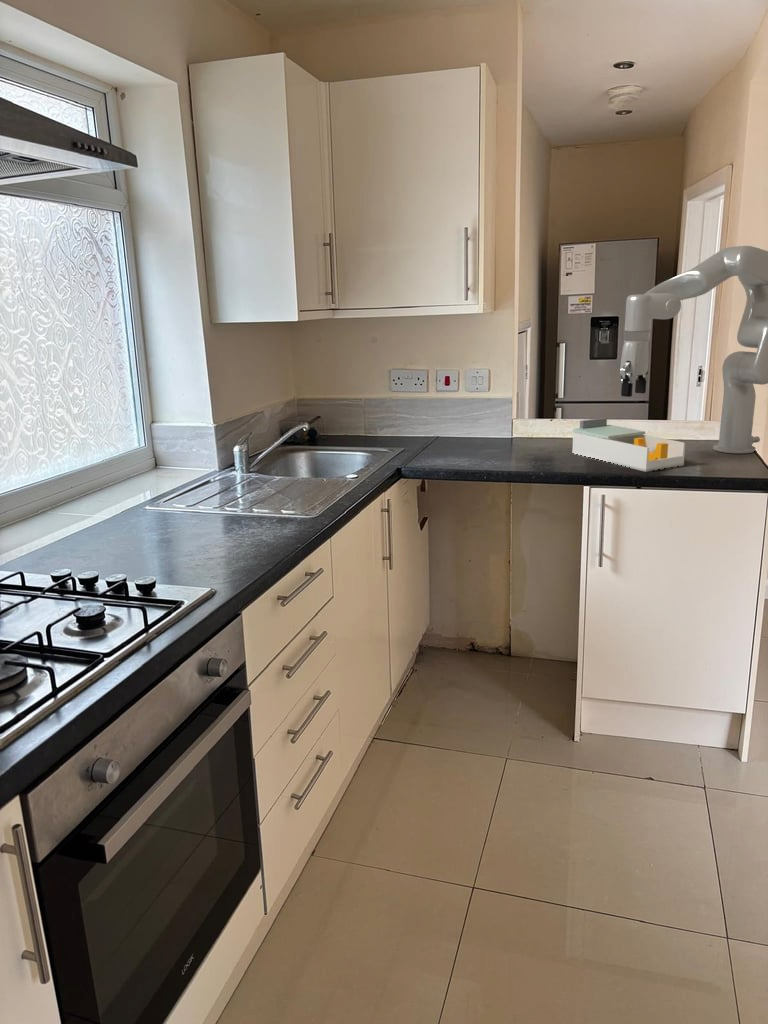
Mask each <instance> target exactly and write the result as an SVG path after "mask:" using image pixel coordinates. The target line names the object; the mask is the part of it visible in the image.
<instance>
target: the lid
mask: <svg viewBox="0 0 768 1024" xmlns="http://www.w3.org/2000/svg"><path fill="white" fill-rule="evenodd" d="M607 422H608V418H607V417H598V418H592V419H583V420H580V421H579V427H578V428H573V429H572V430H573V432H576V433H581V434H586V435H590V436H595V437H600V438H605V439H611V438H618V437H626V436H634V435H641V434H643V435H646V431H645V430H639V429H636V428H635V429H633V428H629V427H623V426H618V425H613V424H607Z"/></svg>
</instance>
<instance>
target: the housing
mask: <svg viewBox="0 0 768 1024" xmlns="http://www.w3.org/2000/svg"><path fill="white" fill-rule="evenodd" d="M634 438H645V443H646V447H642V446H638V445H634ZM657 443H667V444H668V455H667V458H664V459H657V460H650V461H648V455H649V451H650V452H651V453H653V452H654V451H655V449H656V446H657ZM571 451H572V453H574V454H573V455H576V454H578V455H577V456H580V455H582V456H581V457H584V456H586V457H585V458H588V457H591V458H590V459H592V458H595V459H594V460H596V459H599V460H598V461H600V460H603V461H602V462H604V461H606V462H605V463H608V462H611V463H610V464H613V463H614V464H613V465H617V464H618V465H617V466H621V465H622V466H621V467H625V466H626V467H625V468H629V467H630V468H629V469H634V470H637V471H641V472H645V473H647V472H653V470H654V471H659V470H658V469H660V470H665V469H664V468H666V469H672V468H671V467H673V468H678V467H677V466H679V467H684V465H685V454H686V442H684V441H678V440H673V439H668V438H662V437H658V436H653V435H648V434H641V435H634V436H626V437H618V438H611V439H607V438H602V437H597V436H593V435H588V434H583V433H578V432H574V431H573V432H572V450H571ZM572 453H571V454H572Z"/></svg>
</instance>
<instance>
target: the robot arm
mask: <svg viewBox="0 0 768 1024" xmlns="http://www.w3.org/2000/svg"><path fill="white" fill-rule="evenodd" d="M732 277H737V278H738V280H739V282H740V284H741V285H742V287H743V289H744V291H745V295H746V302H745V306H744V311H743V313H742V317H741V320H740V323H739V327H738V330H737V333H736V334H737V335H736V341H737V342H738V344H739V345H740V346H741V347H744V348H749V349H750V348H751V349H757V350H756V352H755V351H744V350H743V351H742V350H741V351H740V350H739V351H734V352H732V353H730V354H728V355H727V356H726V357H725V359H724V360H723V364H722V368H721V369H722V371H721V372H722V381H723V395H722V396H723V397H722V405H721V406H722V407H721V414H720V415H721V417H720V426H719V438H718V443H716V444H714V445H713V446H712V448H713V450H714V451H716V452H720V453H725V454H726V453H728V454H752V453H754V451H755V452H756V447H755V446H753V444H754V443H759V442H760V441H761V438H760V437H759V436H754V435H753V425H754V415H755V408H756V406H755V405H756V398H757V397H756V388H755V385H767V384H768V250H766V249H762V248H758V247H756V246H751V245H742V246H741V245H738V246H728V247H725V248H722V249H721V250H719V251H717V252H716V253H714V254H712V255H711V256H709V257H708V258H706V259H704V260H703V261H702V262H700V263H699V264H698V265H695V266H694V267H692V268H691V269H689V270H687V271H684V272H682V273H680V274H678V275H676V276H674V277H672V278H669V279H666V280H665V281H662V282H660V283H658V284H657V285H655V286H654V287H652V288H651V289H649V290H648V291H646V292H645V293H644V294H643V293H642V294H641V293H640V294H639V293H638V294H630V295H628V296H627V298H626V302H625V320H624V332H623V334H624V335H623V345H622V350H621V351H622V352H621V359H620V367H619V375H621V376H620V382H621V389H620V390H621V392H620V395H621V397H628V398H630V397H632V396H633V385H634V384H633V379H634V377H636V379H635V386H634V393H635V394H646V390H647V379H648V373H649V367H650V364H649V355H650V354H649V351H650V350H649V343H651V333H652V320H670V319H672V318H675V317H676V316H677V315H678V314H679V312H680V311H681V309H682V302H681V301H683V300H689V299H692V298H693V299H694V298H696V297H700V296H703V295H706V294H707V293H709V292H711V290H713V289H715V288H717V286H720V285H721V284H722V283H724V282H725V281H727V280H729V279H730V278H732Z"/></svg>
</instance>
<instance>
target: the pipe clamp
mask: <svg viewBox="0 0 768 1024" xmlns="http://www.w3.org/2000/svg"><path fill="white" fill-rule="evenodd" d="M634 445H638V446H642V447H646V443H645V438H634ZM667 455H668V444H667V443H657V446H656V449H655V451H654V452H653V453H651V452H650V451H649V455H648V461H650V460H657V459H664V458H667Z"/></svg>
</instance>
